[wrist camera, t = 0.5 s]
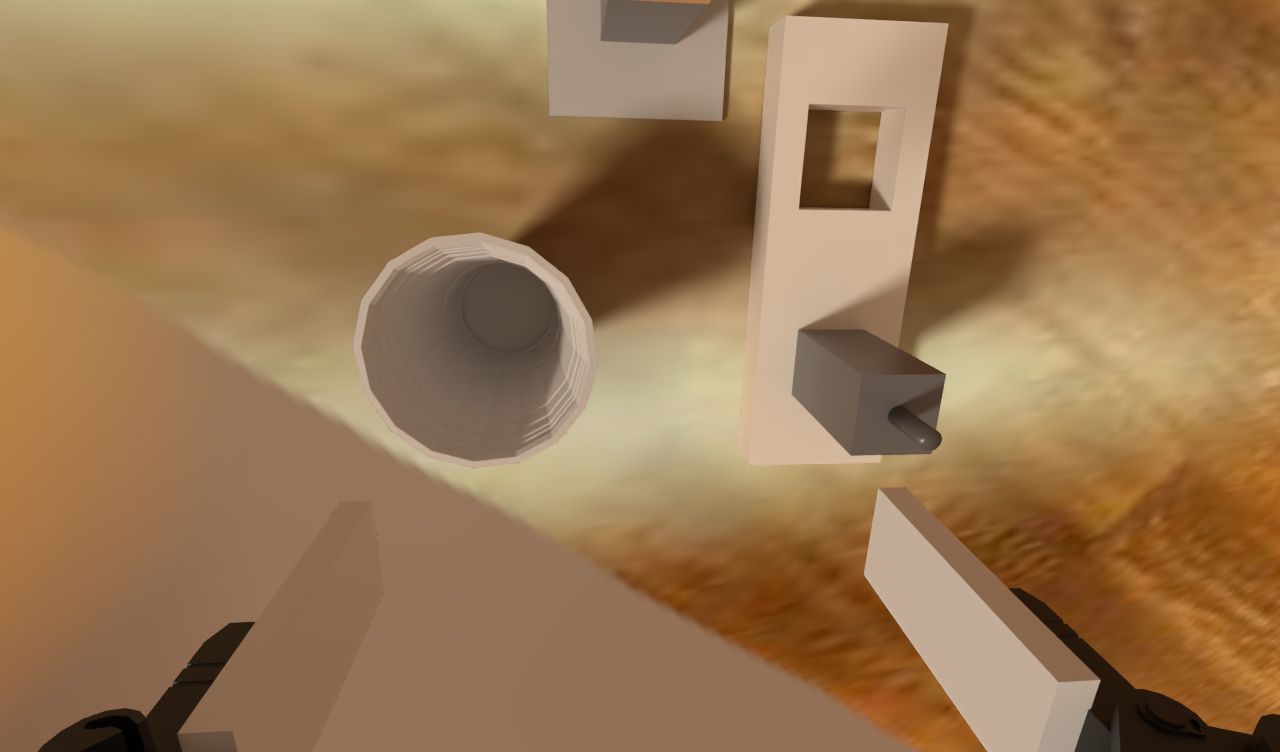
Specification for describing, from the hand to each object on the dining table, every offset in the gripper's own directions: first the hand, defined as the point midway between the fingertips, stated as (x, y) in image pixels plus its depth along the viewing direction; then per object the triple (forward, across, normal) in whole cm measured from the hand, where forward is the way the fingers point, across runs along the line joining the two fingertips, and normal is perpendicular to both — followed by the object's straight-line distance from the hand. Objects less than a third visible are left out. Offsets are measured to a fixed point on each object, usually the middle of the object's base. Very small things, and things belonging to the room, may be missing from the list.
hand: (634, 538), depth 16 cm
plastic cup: (+25, -6, +1) cm, 26 cm away
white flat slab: (+25, +2, +18) cm, 31 cm away
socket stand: (+25, +14, +4) cm, 29 cm away
